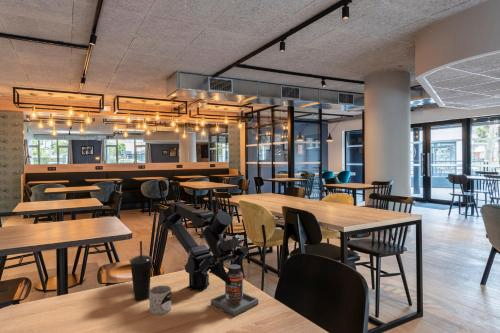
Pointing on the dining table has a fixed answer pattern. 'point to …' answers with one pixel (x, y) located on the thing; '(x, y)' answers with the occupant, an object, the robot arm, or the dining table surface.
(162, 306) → the mug
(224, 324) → the dining table surface
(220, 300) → the tray
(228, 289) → the supplement bottle
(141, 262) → the drinking cup
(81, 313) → the dining table surface
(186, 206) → the robot arm
